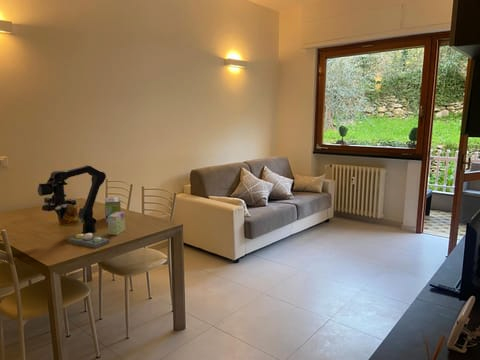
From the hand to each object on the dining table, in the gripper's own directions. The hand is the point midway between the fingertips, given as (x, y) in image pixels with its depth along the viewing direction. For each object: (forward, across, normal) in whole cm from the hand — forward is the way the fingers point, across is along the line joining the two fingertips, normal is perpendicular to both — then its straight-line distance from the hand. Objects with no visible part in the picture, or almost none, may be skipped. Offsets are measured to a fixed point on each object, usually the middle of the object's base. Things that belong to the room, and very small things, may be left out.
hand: (61, 219), depth 208 cm
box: (+12, -24, +19) cm, 33 cm away
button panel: (+12, -3, +18) cm, 22 cm away
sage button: (+12, -3, +25) cm, 28 cm away
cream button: (+10, -3, +18) cm, 21 cm away
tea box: (+12, -44, -4) cm, 46 cm away
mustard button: (+12, -3, +11) cm, 16 cm away
